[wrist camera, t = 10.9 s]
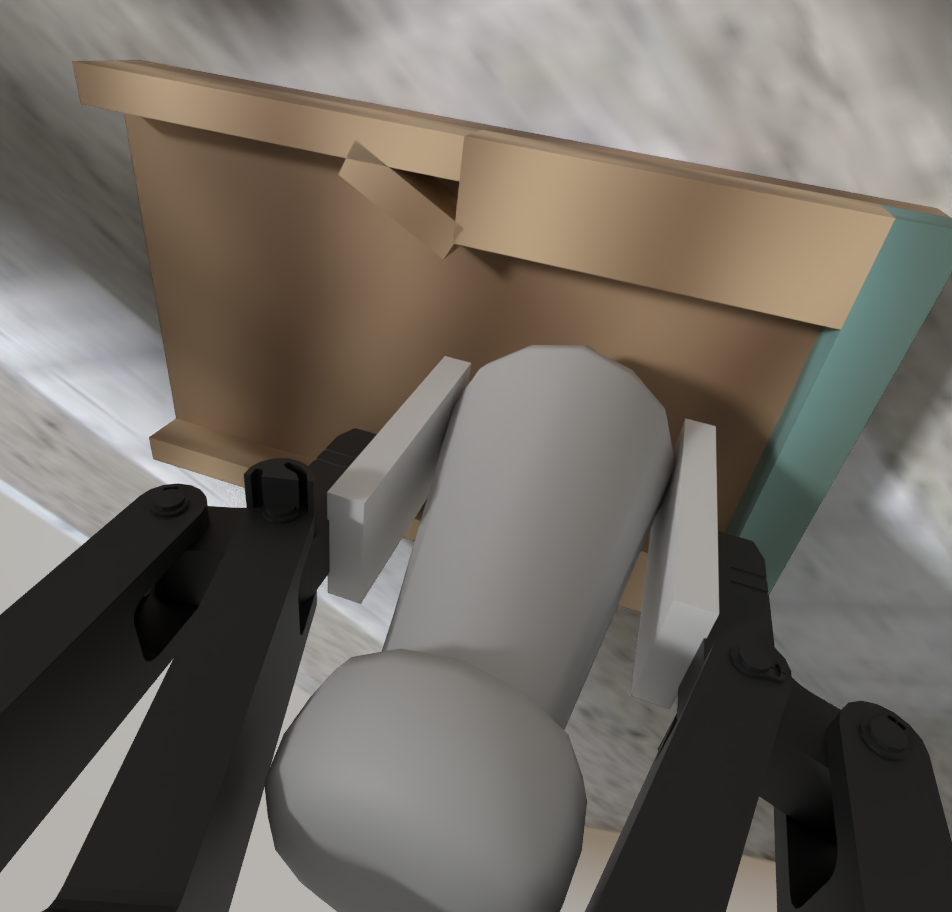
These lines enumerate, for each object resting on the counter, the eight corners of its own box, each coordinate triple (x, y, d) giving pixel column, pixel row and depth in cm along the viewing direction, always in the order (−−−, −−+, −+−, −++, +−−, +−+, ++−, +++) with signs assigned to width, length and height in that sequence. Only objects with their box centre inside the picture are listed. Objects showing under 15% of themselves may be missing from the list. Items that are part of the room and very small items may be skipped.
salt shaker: (451, 335, 18) (94, 726, 8) (657, 291, 16) (552, 772, 5) (508, 502, 21) (299, 969, 10) (692, 486, 18) (669, 1072, 8)
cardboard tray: (196, 427, 26) (153, 459, 24) (140, 60, 19) (72, 61, 17) (738, 590, 22) (740, 644, 20) (937, 208, 15) (973, 233, 13)
